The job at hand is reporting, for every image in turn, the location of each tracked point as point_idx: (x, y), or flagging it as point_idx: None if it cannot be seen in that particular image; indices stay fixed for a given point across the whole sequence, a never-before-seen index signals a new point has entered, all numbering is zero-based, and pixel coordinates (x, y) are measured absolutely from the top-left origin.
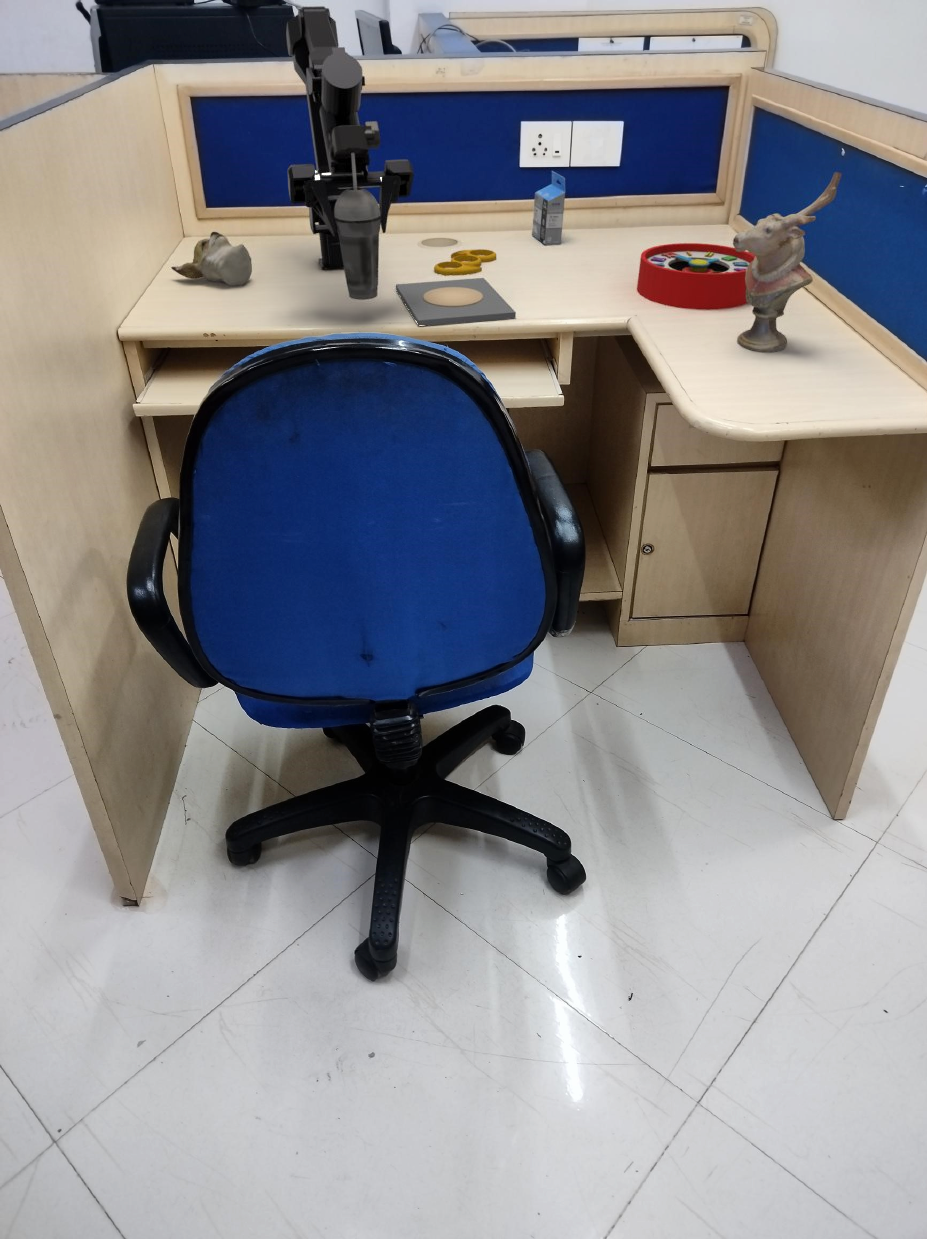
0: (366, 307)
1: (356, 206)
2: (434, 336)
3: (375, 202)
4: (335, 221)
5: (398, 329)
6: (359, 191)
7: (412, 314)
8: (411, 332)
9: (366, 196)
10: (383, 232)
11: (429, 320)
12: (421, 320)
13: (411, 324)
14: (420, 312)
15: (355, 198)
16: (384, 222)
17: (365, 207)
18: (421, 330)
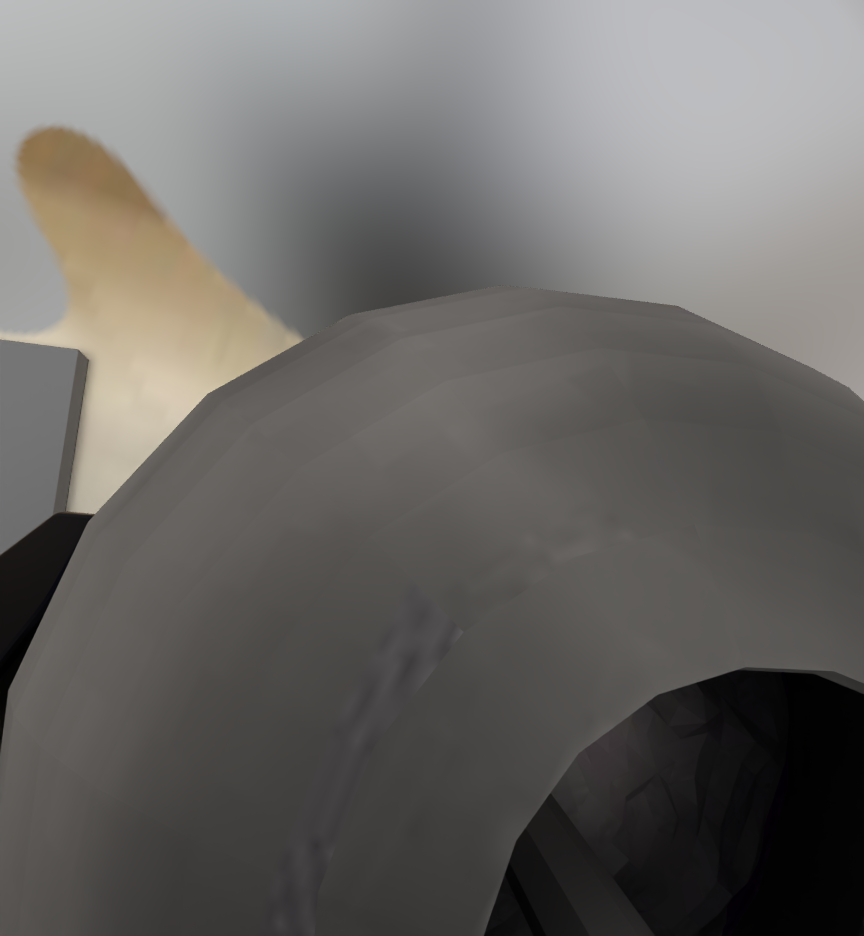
0: None
1: (686, 313)
2: (57, 175)
3: (119, 529)
4: (844, 733)
5: (219, 364)
6: (675, 574)
7: None
8: (163, 288)
9: (413, 444)
10: None
11: (4, 340)
12: (58, 347)
13: (115, 419)
14: (6, 494)
15: (771, 376)
16: (35, 561)
17: (468, 298)
18: (94, 297)
